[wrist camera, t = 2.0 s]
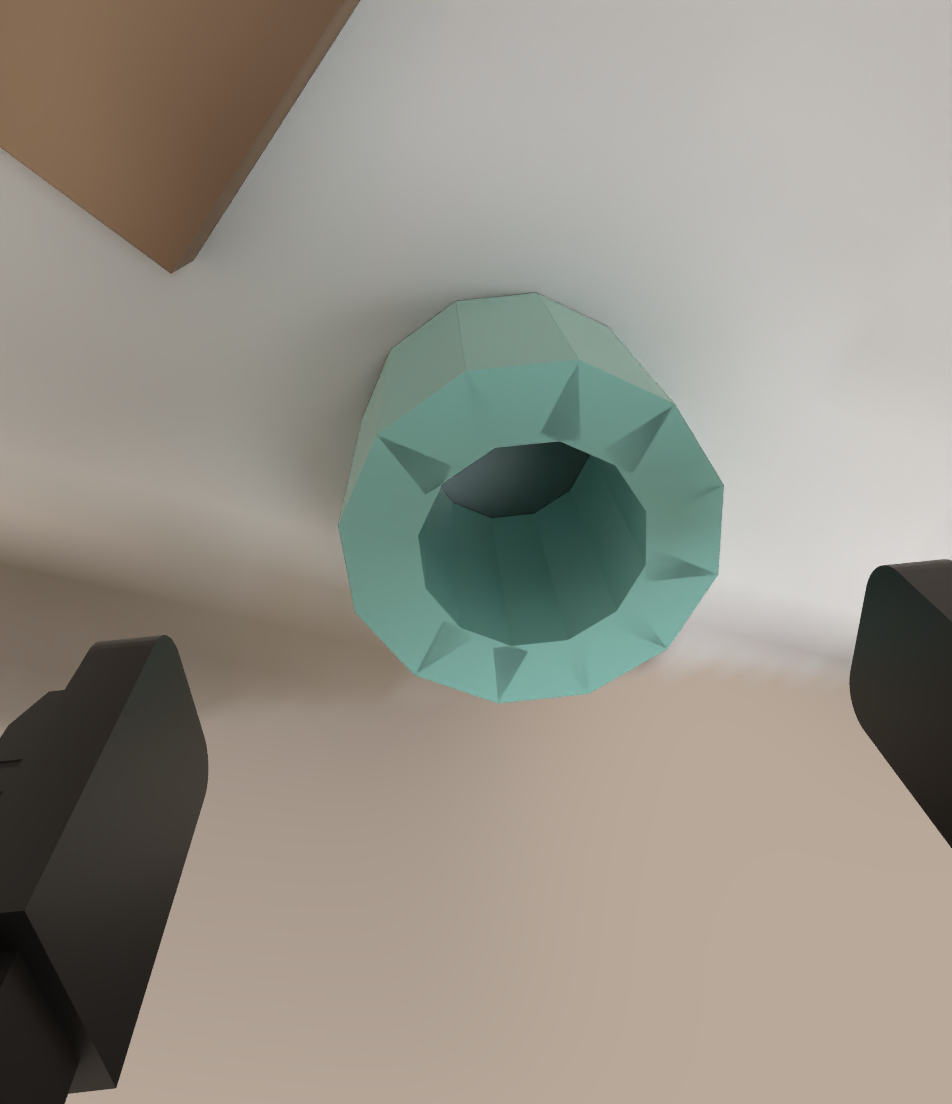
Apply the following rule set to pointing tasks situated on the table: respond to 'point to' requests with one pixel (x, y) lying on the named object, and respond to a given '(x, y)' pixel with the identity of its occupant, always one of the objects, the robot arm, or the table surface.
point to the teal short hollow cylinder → (532, 539)
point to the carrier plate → (155, 103)
